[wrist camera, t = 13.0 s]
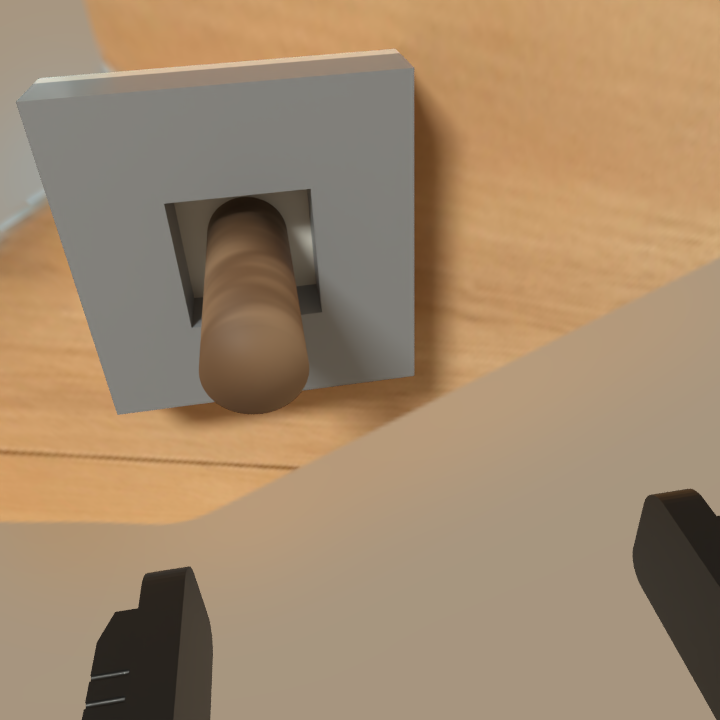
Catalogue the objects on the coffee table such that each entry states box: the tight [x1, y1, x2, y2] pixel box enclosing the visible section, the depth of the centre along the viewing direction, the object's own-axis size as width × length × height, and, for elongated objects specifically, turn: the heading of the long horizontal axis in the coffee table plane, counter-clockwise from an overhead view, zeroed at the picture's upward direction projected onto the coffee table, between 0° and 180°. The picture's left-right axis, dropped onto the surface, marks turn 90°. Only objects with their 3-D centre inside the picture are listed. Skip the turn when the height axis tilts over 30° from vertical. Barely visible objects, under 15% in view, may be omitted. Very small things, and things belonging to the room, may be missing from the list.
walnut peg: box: [199, 197, 309, 414], centre depth 30 cm, size 4×4×12 cm
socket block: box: [16, 49, 414, 415], centre depth 34 cm, size 16×16×4 cm
